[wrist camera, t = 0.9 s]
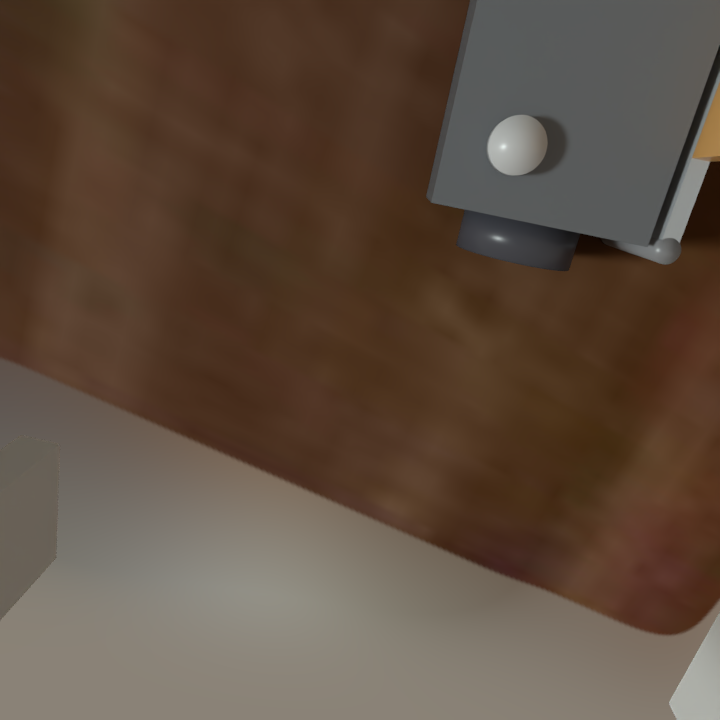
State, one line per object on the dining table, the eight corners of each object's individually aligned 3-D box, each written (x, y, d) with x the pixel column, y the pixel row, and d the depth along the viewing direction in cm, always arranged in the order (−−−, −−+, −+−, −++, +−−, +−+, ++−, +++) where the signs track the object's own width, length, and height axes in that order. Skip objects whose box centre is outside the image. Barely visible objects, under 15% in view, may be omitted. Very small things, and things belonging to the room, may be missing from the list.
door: (677, 0, 29) (858, -120, 17) (700, 4, 29) (897, -113, 17) (597, 243, 33) (701, 279, 21) (617, 247, 33) (732, 285, 21)
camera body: (499, -129, 28) (538, -263, 20) (696, -91, 28) (822, -209, 19) (418, 230, 34) (421, 248, 25) (581, 264, 34) (640, 294, 25)
